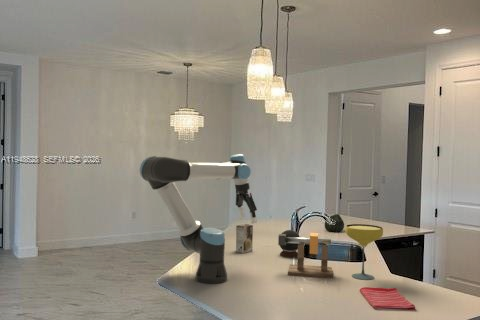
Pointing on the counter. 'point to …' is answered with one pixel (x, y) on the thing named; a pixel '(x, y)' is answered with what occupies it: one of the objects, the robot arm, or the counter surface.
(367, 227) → the cocktail glass
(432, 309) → the counter surface
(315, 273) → the stand
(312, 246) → the collar
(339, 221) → the squash
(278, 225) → the counter surface
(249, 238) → the coffee box
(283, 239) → the shaft
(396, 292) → the dish towel
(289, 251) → the black stacked round piece
